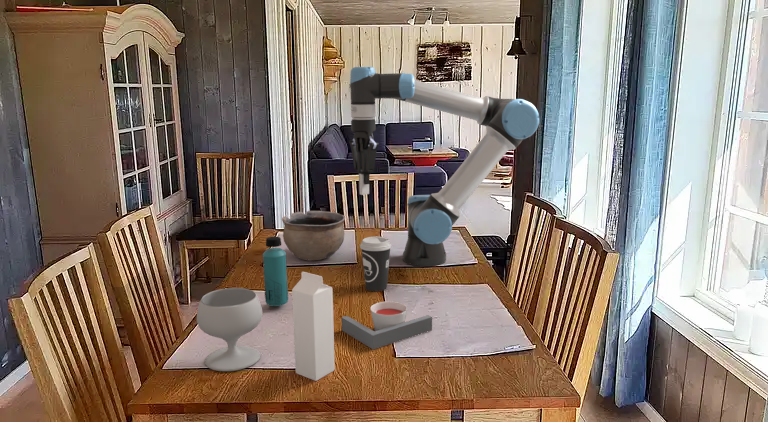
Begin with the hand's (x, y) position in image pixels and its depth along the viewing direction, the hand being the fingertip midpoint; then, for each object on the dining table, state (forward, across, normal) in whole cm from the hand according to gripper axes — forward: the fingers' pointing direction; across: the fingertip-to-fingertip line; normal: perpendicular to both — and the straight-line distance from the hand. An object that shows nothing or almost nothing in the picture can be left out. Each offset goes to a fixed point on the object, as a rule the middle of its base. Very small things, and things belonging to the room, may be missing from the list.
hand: (364, 193), depth 183 cm
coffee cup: (+27, +13, -5) cm, 30 cm away
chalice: (+27, +32, -58) cm, 71 cm away
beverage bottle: (+27, +9, -36) cm, 46 cm away
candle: (+27, +41, -21) cm, 53 cm away
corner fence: (+26, +40, -21) cm, 52 cm away
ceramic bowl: (+27, -26, -4) cm, 37 cm away
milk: (+27, +48, -46) cm, 72 cm away
